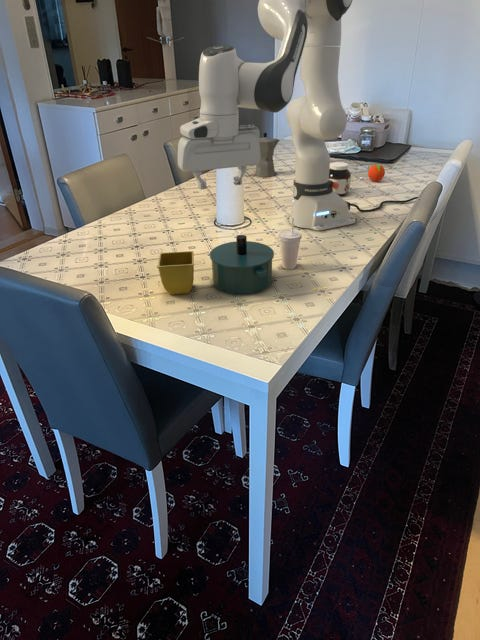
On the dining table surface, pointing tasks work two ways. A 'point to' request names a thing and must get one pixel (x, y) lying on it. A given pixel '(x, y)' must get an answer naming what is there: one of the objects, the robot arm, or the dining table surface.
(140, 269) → the dining table surface
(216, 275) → the pot
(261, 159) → the coffeepot
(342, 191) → the spread jar
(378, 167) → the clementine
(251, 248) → the lid
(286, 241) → the smoothie
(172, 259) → the flower pot
